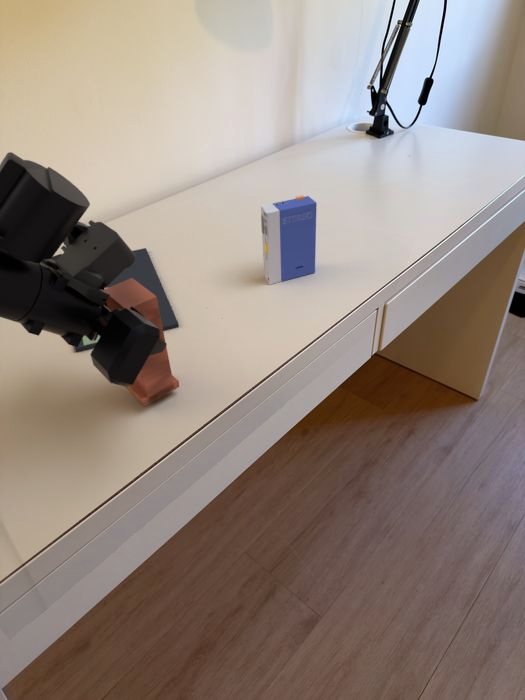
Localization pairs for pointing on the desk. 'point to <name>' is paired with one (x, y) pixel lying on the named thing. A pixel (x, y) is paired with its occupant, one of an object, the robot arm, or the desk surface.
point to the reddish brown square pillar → (156, 369)
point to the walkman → (289, 239)
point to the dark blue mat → (149, 279)
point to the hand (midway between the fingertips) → (151, 336)
